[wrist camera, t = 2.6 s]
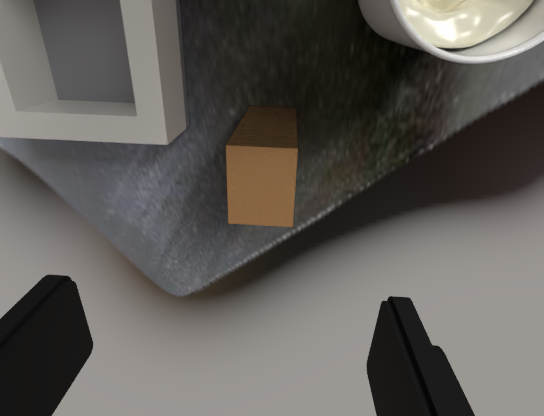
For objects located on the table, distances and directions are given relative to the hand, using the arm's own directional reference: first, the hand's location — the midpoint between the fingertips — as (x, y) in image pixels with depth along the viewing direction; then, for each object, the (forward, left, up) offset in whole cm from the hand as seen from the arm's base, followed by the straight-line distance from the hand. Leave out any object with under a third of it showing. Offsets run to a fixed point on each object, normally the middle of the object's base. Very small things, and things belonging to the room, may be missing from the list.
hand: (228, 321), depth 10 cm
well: (+14, -7, -22) cm, 27 cm away
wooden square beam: (0, 0, -23) cm, 23 cm away
